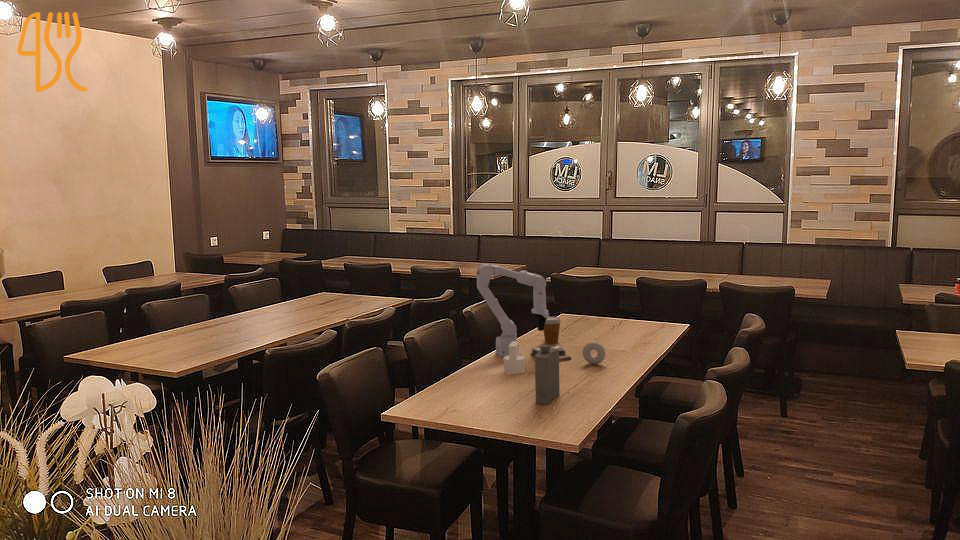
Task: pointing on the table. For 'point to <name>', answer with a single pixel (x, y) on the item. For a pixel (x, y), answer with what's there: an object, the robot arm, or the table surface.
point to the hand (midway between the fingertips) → (540, 330)
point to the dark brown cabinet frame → (561, 355)
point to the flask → (546, 374)
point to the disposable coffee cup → (552, 329)
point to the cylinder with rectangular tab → (514, 360)
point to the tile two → (558, 348)
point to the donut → (589, 357)
